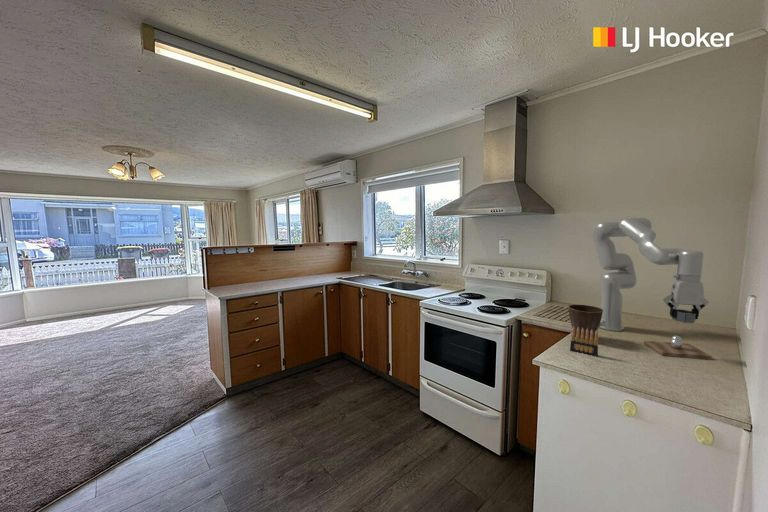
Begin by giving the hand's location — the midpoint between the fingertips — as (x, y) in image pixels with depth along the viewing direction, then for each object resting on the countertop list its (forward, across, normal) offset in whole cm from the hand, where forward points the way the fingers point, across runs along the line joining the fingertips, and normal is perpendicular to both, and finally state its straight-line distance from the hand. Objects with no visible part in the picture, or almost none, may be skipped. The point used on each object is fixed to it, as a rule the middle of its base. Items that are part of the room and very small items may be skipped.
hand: (683, 317), depth 136 cm
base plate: (+17, 0, +3) cm, 17 cm away
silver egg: (+16, 0, +3) cm, 16 cm away
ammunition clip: (+18, -41, -9) cm, 46 cm away
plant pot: (+18, -34, +12) cm, 40 cm away
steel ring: (+1, 0, 0) cm, 1 cm away
